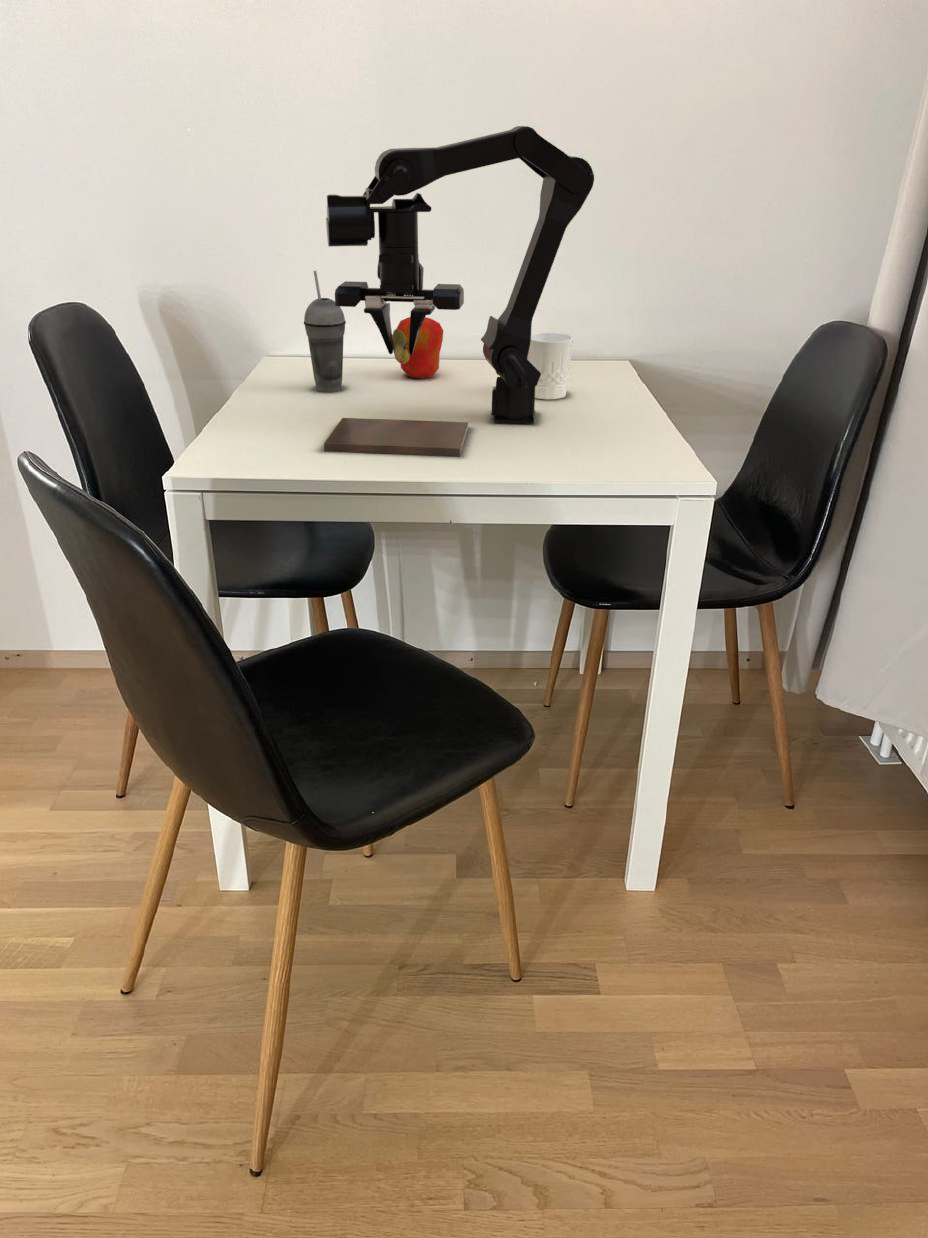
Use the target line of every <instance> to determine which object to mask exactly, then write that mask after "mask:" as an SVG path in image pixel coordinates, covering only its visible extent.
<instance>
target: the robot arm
mask: <svg viewBox="0 0 928 1238" xmlns="http://www.w3.org/2000/svg"><path fill="white" fill-rule="evenodd" d="M516 159H519V160H520V161H521V162H522V163H524V164H525V165H526V166H527V167H528V168H529V169H530V170H531V171H533V172H534V173H535V174H536V175H538V176H539V177H540V178H542V183H541V189H540V196H539V197H540V198H539V213H538V218H537V221H536V224H535V227H534V230H533V232H532V235H531V237H530V241H529V243H528V246H527V249H526V252H525V255H524V257H523V260H522V263H521V266H520V268H519V271H518V274H517V277H516V279H515V283H514V285H513V288H512V291H511V294H510V295H509V296H510V297H509V299H508V302H507V305H506V307H505V309H504V310H503V312H502V313H501V314H500V315H499V317H498V318H496V317H494V316H493V315H489V317H488V320H487V326H486V330H485V332H484V335H483V336H482V337H481V338H480V341H481V342H482V343H483V345H482V353H483V356H484V358H485V361H486V362H488V364H489V365H490V366H491V367H492V368H493V369H494V372H495V373H496V375H497V376H496V380H495V386H493V387H492V391H491V415H492V416H493V422H494V423H503V424H531V425H533V424H535V418H536V410H535V407H536V406H535V405H536V398H535V387H536V386H537V383H538V381H539V378H540V376H541V373H540V372H539V371H538V370H537V369H536V368H535V367H534V366H533V365H532V364H531V363H530V362H529V361H528V360H527V358H528V353H529V348H530V343H531V334H532V324H533V319H534V315H535V314H536V310H537V307H538V305H539V302H540V300H541V296H542V294H543V291H544V289H545V286H546V283H547V281H548V278H549V275H550V273H551V270H552V268H553V265H554V262H555V259H556V256H557V254H558V251H559V248H560V245H561V244H562V240H563V238H564V234H565V232H566V229H567V227H568V226H569V224H570V223H571V222H572V221H573V219H575V217H576V216H577V214H578V213H579V212H580V210H581V209H582V207H583V205H584V204H585V202H586V200H587V198H588V196H589V195H590V192H591V191H592V189H593V188H594V182H595V173H594V171H593V167H592V166H591V164H590V163H589V161H588V160H586V159H584V158H582V157H578V156H572V155H568V153H566V152H564V151H563V150H562V149H560V148H558V146H555V145H554V144H553V143H552V142H550V141H548V140H547V139H546V138H544V137H543V136H541V135H540V134H539V133H538V132H537V130H535V129H534V128H533V127H530V126H527V125H517V126H514V127H513V128H511V129H507V130H504V131H500V132H496V133H492V134H488V135H483V136H479V137H475V138H471V139H465V140H462V141H458V142H453V143H449V144H445V145H441V146H436V147H404V148H403V147H401V148H399V147H398V148H389V149H387V150H385V151H384V150H383V151H382V152H381V153H380V154H379V156H378V158H377V159H376V161H375V165H374V176H373V178H372V180H371V181H370V183H369V184H368V186H367V187H365V191H364V192H363V193H362V195H340V194H327V195H326V217H325V226H326V227H325V228H326V239H327V247H330V248H331V247H367V246H368V244H369V241H372V239H375V237H376V222H375V214H376V213H377V222H378V223H377V224H378V225H377V226H378V263H377V272H376V274H377V275H376V276H377V279H379V282H380V283H379V287H369V284H368V281H348V280H345V281H344V282H342V283H341V284H339V285H337V287H336V288H335V289H334V301H335V306H340V307H341V308H342V307H345V308H348V307H349V308H355V307H357V306H358V305H359V303H360V302H361V301H362V302H364V305H365V307H364V309H363V313H364V314H369V315H370V316H371V318H372V320H373V321H374V323H375V325H376V327H377V329H378V331H379V334H380V335H381V338H382V340H383V342H384V345H385V347H386V350H387V352H388V354H389V355H392V354H394V352H393V338H392V335H393V331H392V324H391V303H392V302H394V303H395V302H396V303H397V302H398V303H413V306H414V307H413V308H411V310H410V316H409V317H410V334H409V353H410V355H412V354H413V352H414V349H415V345H416V342H417V338H418V335H419V331H420V328H421V325H422V323H423V321H424V318H425V317H427V316H430V315H431V314H432V313H433V312H435V310H436V309H438V310H444V311H445V310H446V311H447V310H448V311H456V310H457V311H458V310H461V308H462V307H463V305H464V303H465V292H464V291H465V290H464V287H463V286H462V285H461V284H456V283H455V284H453V283H452V284H451V283H437V284H436V285H435V286H434V287H433V289H425V288H424V272H425V271H424V267H423V265H422V263H420V255H419V219H418V218H419V216H418V214H419V213H430V212H431V211H432V206H430V204H428V202H426V201H425V200H424V198H423V196H422V194H421V193H420V192H416V193H415V194H414V196H413V197H412V198H393V197H394V196H397V197H399V196H401V197H403V196H406V195H409V194H411V193H414V192H415V191H418V190H420V189H422V188H424V187H427V186H428V185H430V184H432V183H433V182H435V181H437V180H439V179H441V178H444V177H446V176H450V175H455V174H458V173H462V172H463V173H464V172H467V171H470V170H476V169H479V168H483V167H488V166H492V165H497V164H500V163H505V162H508V161H514V160H516ZM391 198H393V199H392V201H391V205H385V206H371V205H383V204H385V203H386V202H387V201H389V200H390V199H391ZM390 302H391V303H390Z"/></svg>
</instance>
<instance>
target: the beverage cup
mask: <svg viewBox="0 0 928 1238" xmlns="http://www.w3.org/2000/svg"><path fill="white" fill-rule="evenodd" d="M313 277H314V282H315V289H316V295H317V298H316V299H314V300H313V301H311V302H310V303H309V304H308V305H307V307H306V310H305V312H304V317H303V318H304V321H303V325H304V330H305V333H306V336H307V340H308V347H309V353H310V360H311V365H312V366H311V367H312V374H313V379H314V383H315V389H316V391H317V392H322V393H336V392H339V391H342V385H343V369H344V367H343V366H344V335H345V331H346V324H347V322H346V318H345V314H344V311H343V309H342V306H335V300H333V299H331V298H329V297H322V296H321V291H320V290H321V289H320V283H319V279H318V271H317V270H313Z"/></svg>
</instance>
